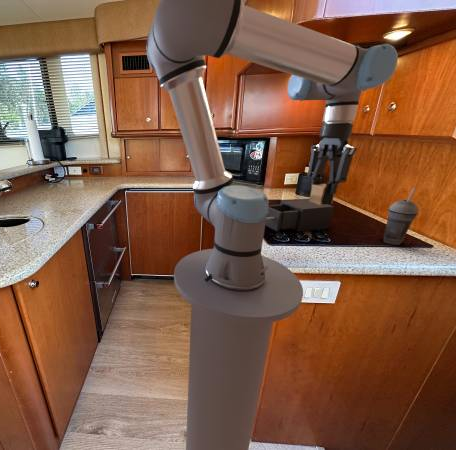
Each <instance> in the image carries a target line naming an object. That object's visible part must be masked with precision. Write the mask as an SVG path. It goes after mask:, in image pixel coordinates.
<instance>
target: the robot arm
mask: <svg viewBox="0 0 456 450" xmlns="http://www.w3.org/2000/svg"><path fill="white" fill-rule="evenodd" d="M145 48H146V56H147V60H148V63H149V66H150V67H151V68H152V70H153V72H155V73H156V77H157V79H158V82H159V85H160V86H159V87H160V88H161V89H163V90H164V91H166V92H168V93H169V98H170V100H171V104H172V107H173V110H174V114H175V117H176V120H177V123H178V127H179V130H180V133H181V136H182V141H183V143H184V146H185V149H186V152H187V156H188V159H189V162H190V165H191V169H192V172H193V175H194V179H195V180H194V182H193V184H192V186H191V187H192V190H193V194H194V195H193V202H194V203H193V204H194V207H195V209H196V211H197V213H198V214H199V215H200V216H201V217H202V218H203V219H204V220H206V221H207V222H208V223H210V224H211V226H213V227H214V241H213V248H212V249H213V250H212V253H211V255H210V257H209V260H208V262H207V264H206V276H207V277H206V278H205V279H204V280H205V281H206V282H207V281H209V280H210V281H211V282H212V283H214V284H215V285H217V286H219V287H221V288H224V289H227V290H231V291H238V292H248V291H253V290H256V289H259V288H260V287H262V286H263V284H264V282H265V271H266V270H267V269H268V266H266V267H265V268H264V265H263V260H262V256H263V255H262V248H263V241H264V236H265V230H266V229H265V228H266V225H265V223H266V217H267V214H268V206H269V198H268V196H267V195H266V193H265V192H263V191H262V190H260V189H258V188H254V187H250V186H246V185H235V181H234V177H233V174H232V173H231V172H230V171H227V170H226V168H225V164H224V160H223V157H222V153H221V147H220V144H219V140H218V137H217V132H216V128H215V124H214V121H213V117H212V116H213V115H212V112H211V108H210V105H209V101H208V97H207V92H206V89H205V85H204V81H203V76H204V74H205V71H206V69H207V65H206V61H205V57H204V56H206V57H211V58H214V59H221V58H222V57H224V56H226V55H227V56H229V57H234V58H237V59H240V60H244V61H246V62H250V63H254V64H256V65H260V66H263V67H265V68H269V69H272V70H275V71H278V72H282V73H286V74H289V75H291V76H290V78H289V80H288V83H287V89H286V91H287V96H288V98H289V99H290V100H292V101H300V102H303V101H325V105H324V111H323V116H322V121H321V123H323V124H322V125H321V126H320V131H319V135H318V136H319V138H320V139H321V140H320V141H319V142H318V144H316V145H311V146H310V158H309V162H308V163H309V164H308V170H307V178H310V179H311V182H310V191H311V190H312V185H316V184H323V180H322V179H323V177H322V176H323V174H324V171H325V169H326V166H327V164H328V161H329V181H327V182H326V183H325V184H326V188H325V193H324V197H323V201H322V204H324V205H325V204H328V205H332V204H333V203H332V199H333V200H334V198H333V195H334V196H335V195H336V193H337V190H338V185H339V184H340V183H346V181H347V178H348V175H349V171H350V167H351V164H352V161H353V156H354V155H355V153H356V152H357V149H358V148H357V146H351V145H350V144H349V138H350V137H351V136H352V133H353V129H354V123H352V122H354V121H356V120H355V119H356V116H357V111H358V108H359V104H360V99H361V95H362V92H365V91H367V90H370V89H374V88H379V87H380V86H383V85H384V84H385V83H387V82H388V81H389V80H390V79H391V77H393V75H394V72H395V71H396V70H395V69H396V68H397V66H398V60H399V56H398V52H397V50H396V48H395V47H394V46H393V45H391V44H388V43H384V44H379V45H372V46H371V47H369V48H363V47H360V46H357V45H354V44H351V43H349V42H346V41H343V40H341V39H338V38H335V37H332V36H329V35H327V34H324V33H322V32H319V31H316V30H314V29H311V28H308V27H306V26H303V25H299V24H297V23H294V22H292V21H289V20H286V19H283V18H281V17H278V16H275V15H272V14H270V13H267V12H265V11H262V10H259V9H257V8H253V7H251V6H248V5H246V4H245V2H244V0H160V1H159V3H158V4H157V7H156V9H155V13H154V17H153V20H152V23H151V26H150V28H149V30H148V34H147V37H146V45H145ZM310 195H311V192H310V193H309V196H310ZM308 199H309V200H310V197H309V198H308ZM331 203H332V204H331ZM261 255H262V256H261Z"/></svg>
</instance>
